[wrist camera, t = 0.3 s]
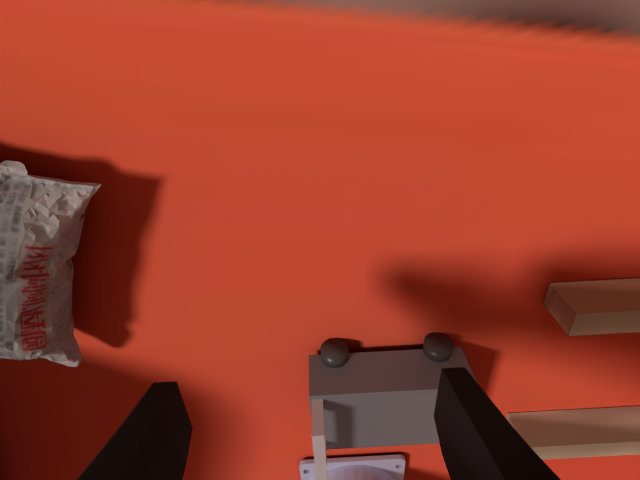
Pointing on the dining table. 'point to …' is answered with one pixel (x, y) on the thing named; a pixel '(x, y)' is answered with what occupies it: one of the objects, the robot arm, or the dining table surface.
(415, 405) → the grey box with knobs
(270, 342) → the dining table surface
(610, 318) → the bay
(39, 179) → the packaged food
